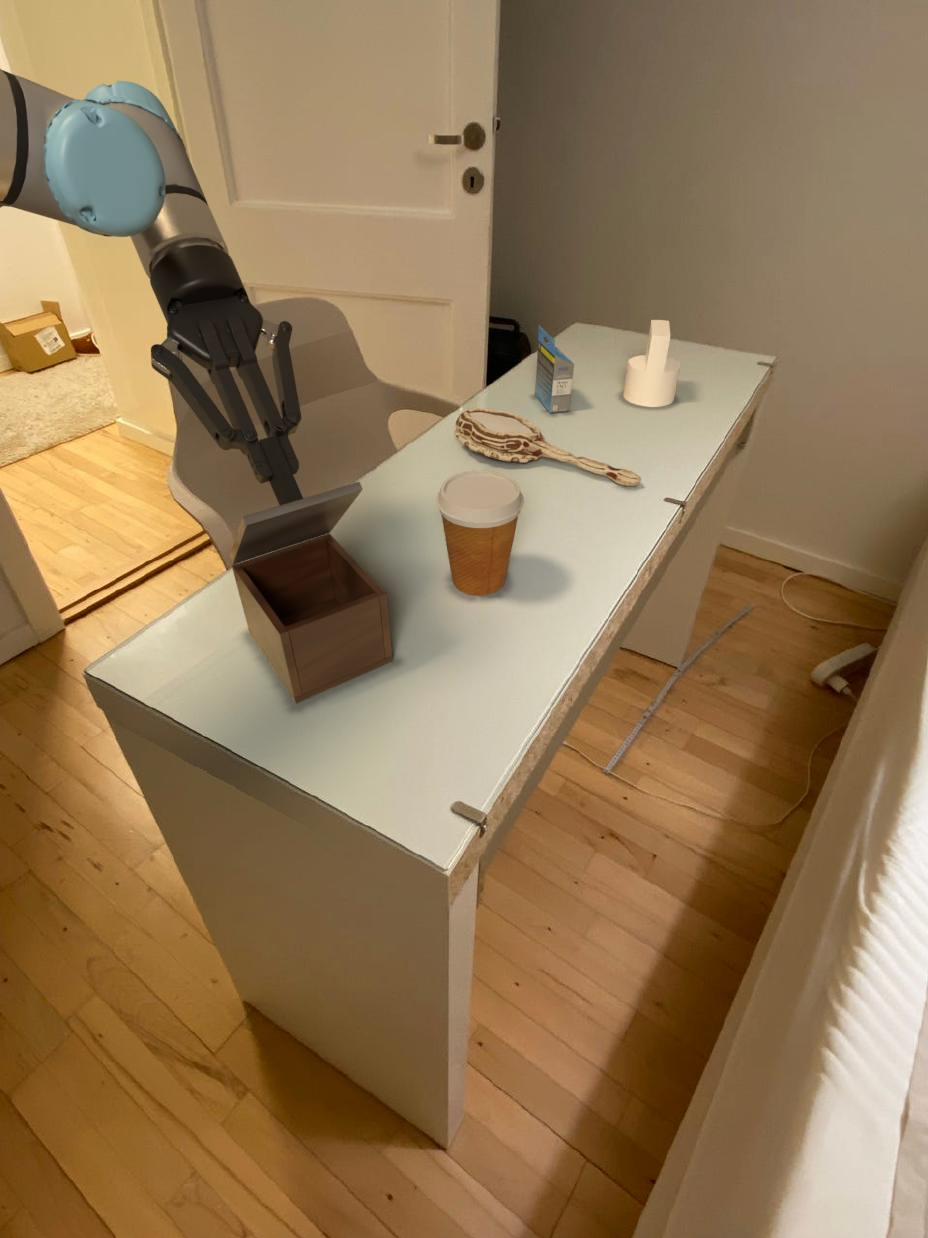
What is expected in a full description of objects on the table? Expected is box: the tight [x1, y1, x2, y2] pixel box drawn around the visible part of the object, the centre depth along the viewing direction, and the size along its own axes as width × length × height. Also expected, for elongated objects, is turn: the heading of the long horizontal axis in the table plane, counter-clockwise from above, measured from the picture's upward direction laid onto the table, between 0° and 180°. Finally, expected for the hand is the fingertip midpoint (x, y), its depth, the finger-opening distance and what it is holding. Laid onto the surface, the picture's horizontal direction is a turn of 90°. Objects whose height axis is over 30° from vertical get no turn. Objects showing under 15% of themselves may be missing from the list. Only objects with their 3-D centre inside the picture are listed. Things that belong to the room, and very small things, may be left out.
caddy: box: [231, 533, 394, 704], centre depth 69 cm, size 13×11×9 cm
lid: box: [228, 481, 363, 566], centre depth 63 cm, size 14×11×1 cm
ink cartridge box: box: [534, 324, 575, 414], centre depth 117 cm, size 9×4×12 cm, turn 13°
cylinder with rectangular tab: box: [622, 319, 682, 408], centre depth 119 cm, size 9×9×12 cm
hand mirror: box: [453, 406, 642, 487], centre depth 101 cm, size 11×6×30 cm
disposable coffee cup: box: [435, 469, 525, 596], centre depth 77 cm, size 10×10×12 cm
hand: (294, 510), depth 61 cm, fingers closed
